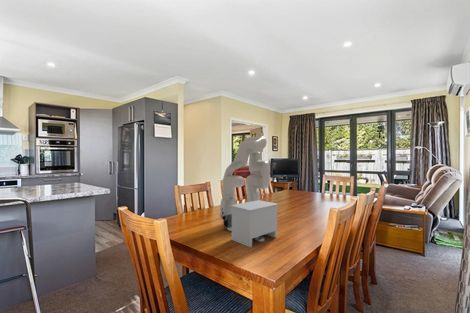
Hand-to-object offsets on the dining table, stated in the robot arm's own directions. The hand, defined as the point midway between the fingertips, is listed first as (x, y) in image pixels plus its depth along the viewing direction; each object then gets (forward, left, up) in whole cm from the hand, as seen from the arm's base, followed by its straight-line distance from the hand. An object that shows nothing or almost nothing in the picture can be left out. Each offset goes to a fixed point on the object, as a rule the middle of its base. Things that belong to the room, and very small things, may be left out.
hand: (228, 225), depth 146 cm
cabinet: (0, +23, -2) cm, 23 cm away
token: (0, +27, -2) cm, 27 cm away
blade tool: (0, +10, -2) cm, 10 cm away
